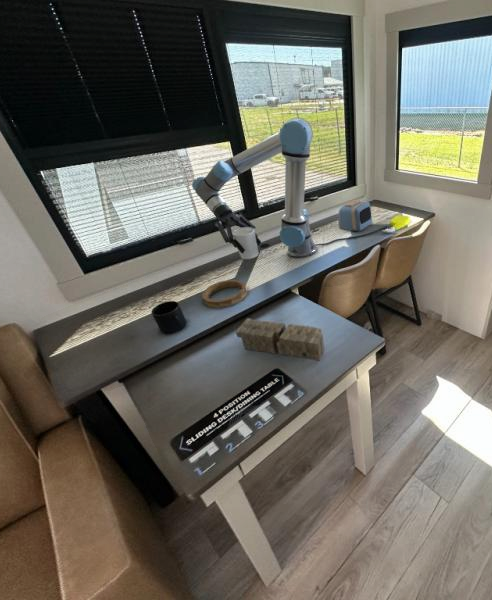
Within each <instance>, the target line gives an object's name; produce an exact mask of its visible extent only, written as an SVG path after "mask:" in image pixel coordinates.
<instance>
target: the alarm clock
mask: <svg viewBox="0 0 492 600" xmlns="http://www.w3.org/2000/svg"><path fill="white" fill-rule="evenodd" d="M371 208H372V207H371V203H370V202H368V201H361V199H351V200H349V201H346V202H345V204H344V205H343V206H341V207H340V208H339V210H338V227H339V229H343V230H349V231H354V232H362V231H363V230H364V229H367V228H368V227H369V226H371V224H373V223H372V222H373V218H372V209H371Z"/></svg>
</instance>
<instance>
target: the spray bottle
mask: <svg viewBox="0 0 492 600" xmlns="http://www.w3.org/2000/svg"><path fill="white" fill-rule="evenodd" d="M410 221H411V217H410V216H408V215H399V214H398V215H395V216H394V217H393V218H392V219H391V220H390V221H389V224H390V226H391V227H390V228H388V227H386V229H382V232H383V233H388V234H396V231H398V230H400V229H403V228H404V227H406V226H407V225H408V224H409V223H410Z"/></svg>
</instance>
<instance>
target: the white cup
mask: <svg viewBox="0 0 492 600" xmlns="http://www.w3.org/2000/svg"><path fill="white" fill-rule="evenodd" d="M255 230H256V229H255ZM255 230H254V228H251V227H243V228H240V227H239V228H236V229H234V230H232V235H233V239H236V240H237V241H238V242H239V243H240V245H241V246H242V247H243V248H244V249H245V251H244V253H241V252H240V251H239V250H238V248H237V250H238V254H239V257H240V258H241V259H243V260H251V259H254V258H256V257H258V256H259V248H258V245H257V242H256V236H255V233H256V231H255ZM251 231H252V232H251Z"/></svg>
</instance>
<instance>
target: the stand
mask: <svg viewBox="0 0 492 600" xmlns="http://www.w3.org/2000/svg"><path fill="white" fill-rule="evenodd" d="M225 288H226V289H227V288H239V289H240V290H239V291H238V293H236V294H234V295H232V296H229V297H226V298H222V299H211V298H210V296H212V295H213V294H214V293H215V292H218V291H220V290H222V289H225ZM247 290H248V289H247V286H246V282H245V281H242V280H240V279H226V280H221V281H218V282H215V283H213V284H211V285H209V286H208V287H206V288H205V290H204V291H202V300H203V303H204V305H206V306H208V307H209V308H214V309H215V308H216V309H217V308H218V309H223V308H227V307H230V306H233V305H236V304H237V303H239V302H241V301H243V300H244V298H245V297H246V296H247V295H248V291H247Z"/></svg>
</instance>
